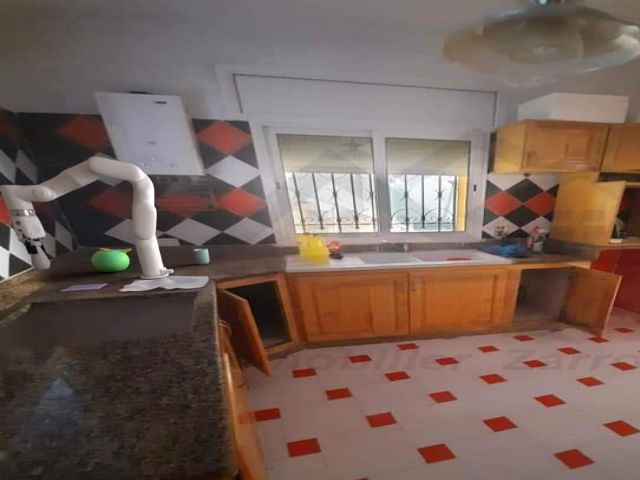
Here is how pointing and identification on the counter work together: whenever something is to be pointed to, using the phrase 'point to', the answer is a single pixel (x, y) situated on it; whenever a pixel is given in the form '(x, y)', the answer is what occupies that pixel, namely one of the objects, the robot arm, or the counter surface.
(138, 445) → the counter surface
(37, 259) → the salt shaker
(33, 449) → the counter surface
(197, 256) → the cup
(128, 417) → the counter surface
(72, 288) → the dish towel
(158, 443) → the counter surface
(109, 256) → the green round piece
